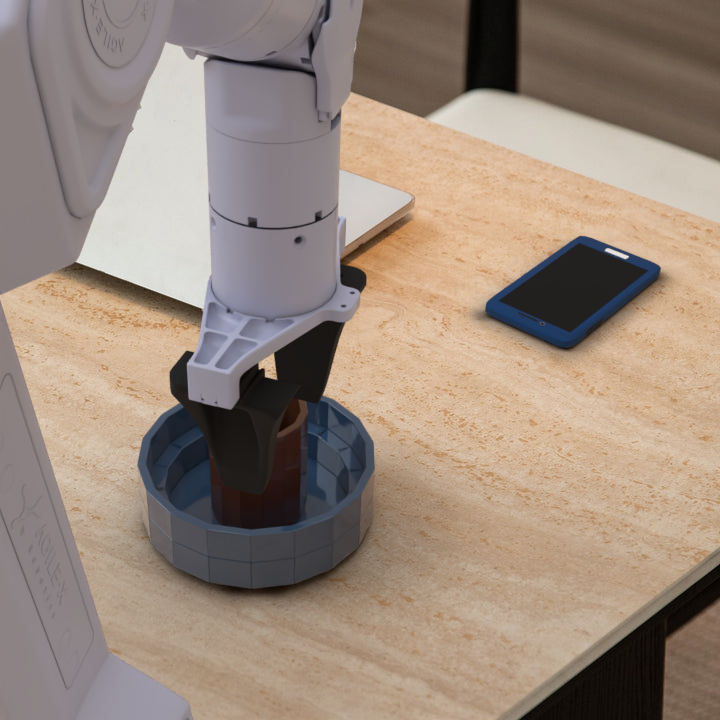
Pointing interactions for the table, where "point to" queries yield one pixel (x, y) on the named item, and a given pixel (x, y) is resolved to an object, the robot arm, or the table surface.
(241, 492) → the cup
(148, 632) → the table surface
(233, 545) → the bowl
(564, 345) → the cell phone
